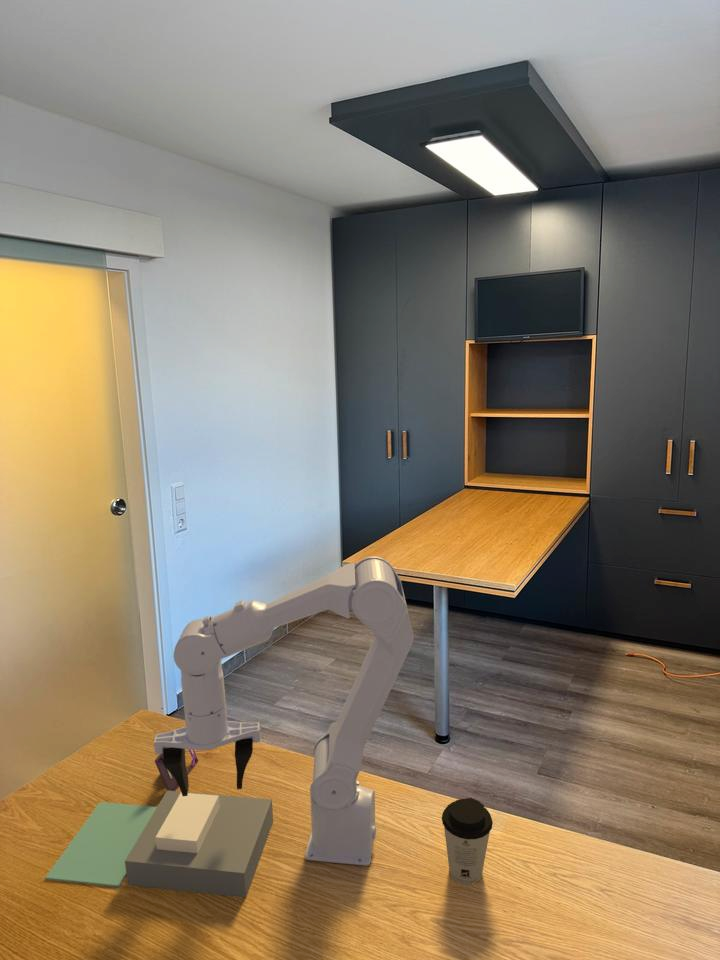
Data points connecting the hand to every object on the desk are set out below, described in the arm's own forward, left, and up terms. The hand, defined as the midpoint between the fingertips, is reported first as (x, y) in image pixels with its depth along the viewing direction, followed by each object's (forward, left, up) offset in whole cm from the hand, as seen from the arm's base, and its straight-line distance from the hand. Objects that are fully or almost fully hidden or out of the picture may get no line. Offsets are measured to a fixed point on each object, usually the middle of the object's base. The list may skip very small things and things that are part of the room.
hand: (212, 787), depth 96 cm
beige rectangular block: (+4, +1, -6) cm, 7 cm away
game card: (+13, -14, -11) cm, 22 cm away
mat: (+17, +1, -10) cm, 19 cm away
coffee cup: (-36, 0, -10) cm, 38 cm away
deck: (+2, +1, -10) cm, 10 cm away
